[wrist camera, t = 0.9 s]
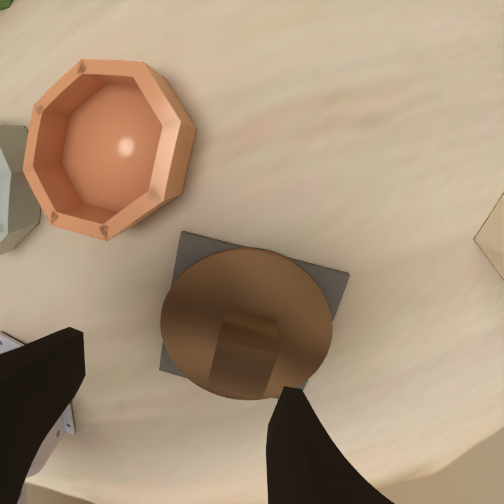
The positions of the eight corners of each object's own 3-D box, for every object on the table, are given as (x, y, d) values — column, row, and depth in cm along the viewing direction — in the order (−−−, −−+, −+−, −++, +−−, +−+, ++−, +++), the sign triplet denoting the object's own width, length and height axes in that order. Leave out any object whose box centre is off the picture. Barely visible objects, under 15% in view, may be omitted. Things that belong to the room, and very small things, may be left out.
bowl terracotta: (173, 237, 19) (154, 254, 15) (51, 205, 18) (18, 215, 15) (208, 84, 16) (195, 68, 13) (76, 71, 16) (45, 60, 12)
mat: (297, 398, 22) (297, 401, 21) (160, 366, 21) (159, 370, 21) (348, 273, 19) (349, 275, 18) (182, 230, 18) (181, 232, 18)
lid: (299, 404, 21) (304, 447, 17) (156, 371, 21) (137, 411, 17) (353, 272, 18) (375, 303, 14) (178, 228, 18) (154, 248, 14)
